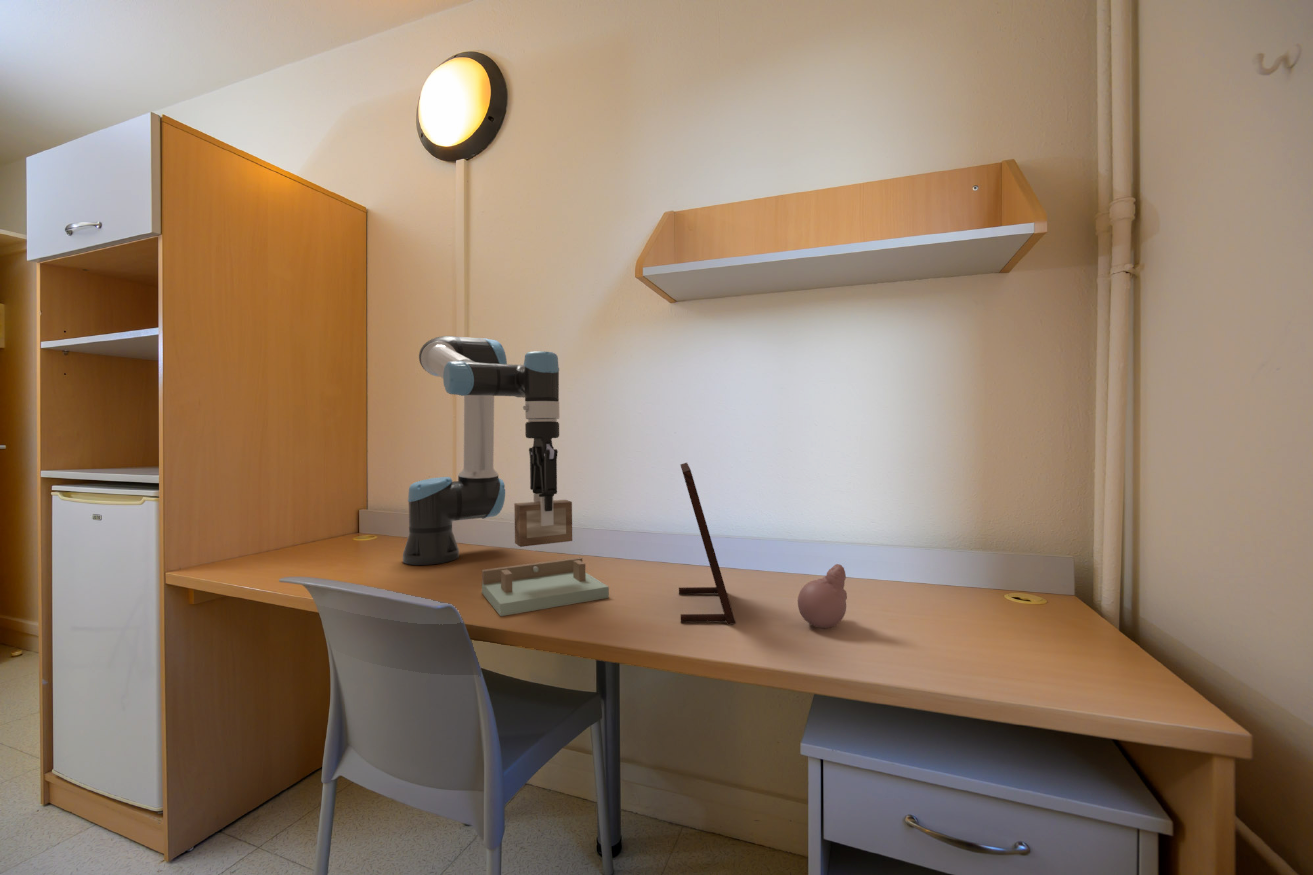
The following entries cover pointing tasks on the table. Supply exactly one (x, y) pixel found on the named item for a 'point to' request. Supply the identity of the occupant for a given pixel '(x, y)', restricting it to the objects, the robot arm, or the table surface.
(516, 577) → the green assembly board
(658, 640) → the table surface
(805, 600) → the figurine
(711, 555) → the black easel stand
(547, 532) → the walnut frame
